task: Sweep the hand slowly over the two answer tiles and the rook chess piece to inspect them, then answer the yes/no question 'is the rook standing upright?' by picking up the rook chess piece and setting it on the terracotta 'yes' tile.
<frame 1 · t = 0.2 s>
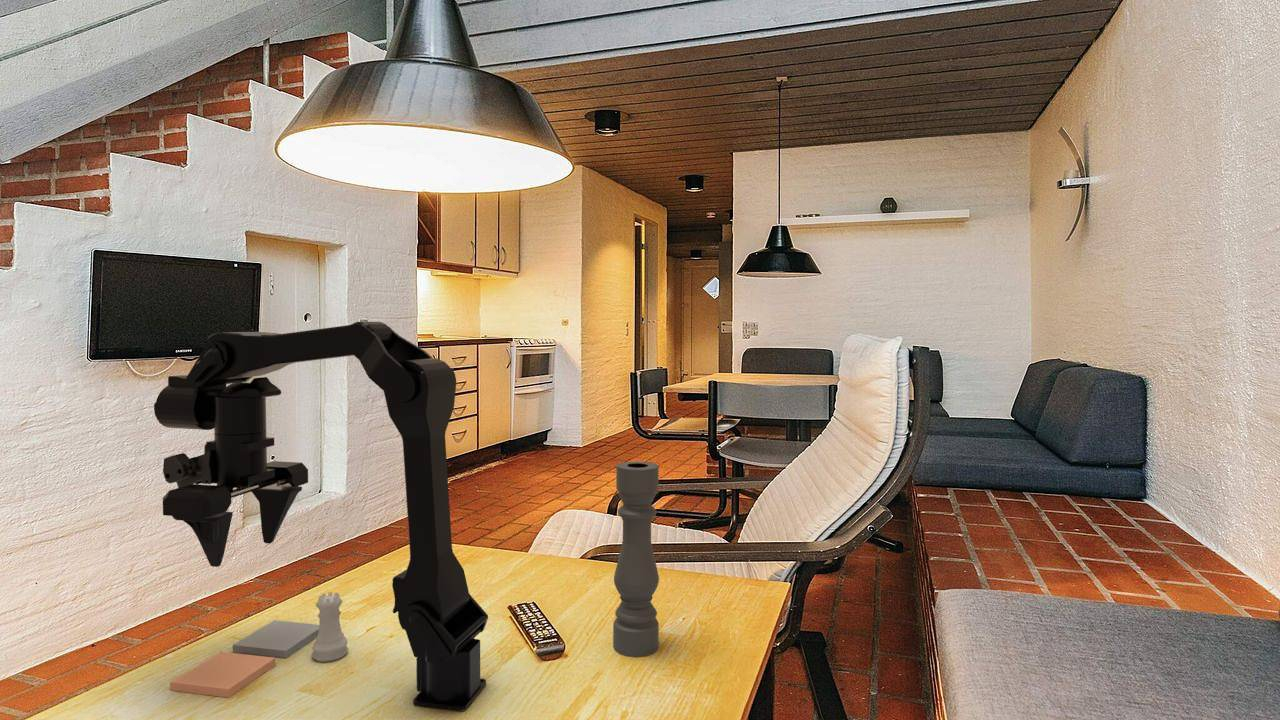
hand: (243, 554, 91), 14 cm above the table, fingers open, 9 cm apart
rook chess piece: (330, 656, 95), on the table
answer tiles: (253, 658, 93), on the table
candle holder: (635, 647, 98), on the table
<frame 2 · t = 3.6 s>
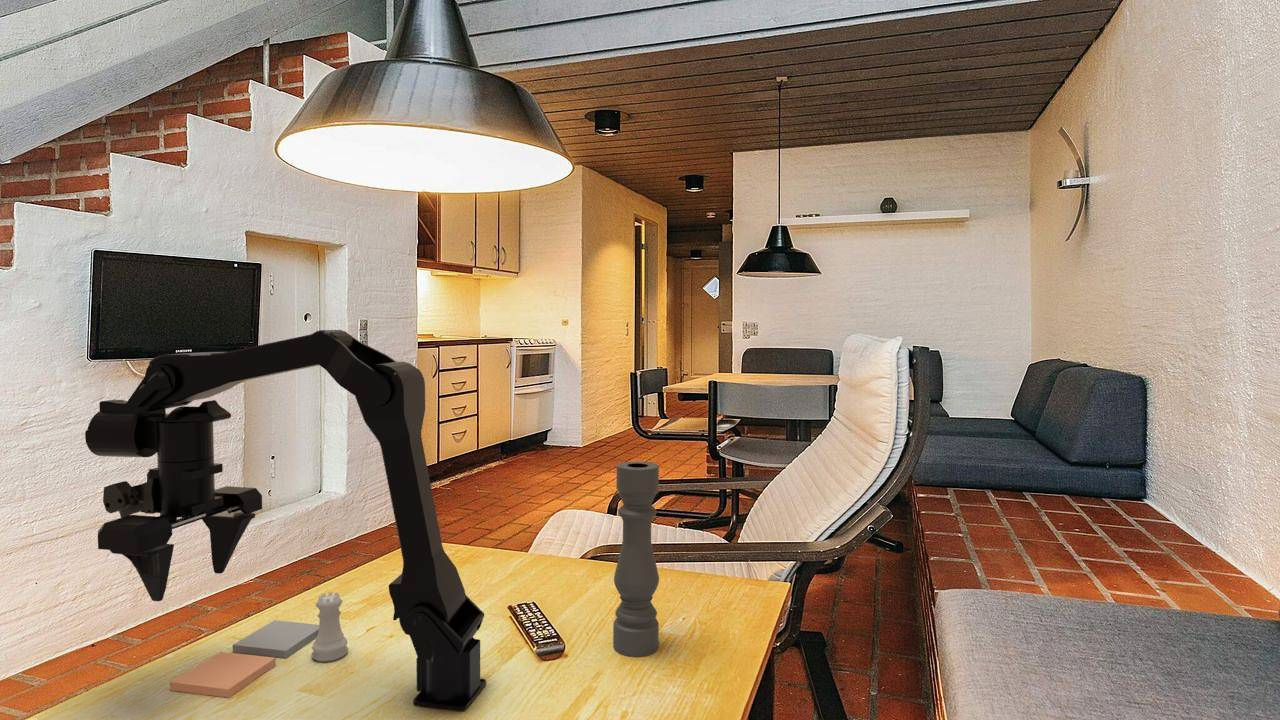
hand: (189, 586, 87), 12 cm above the table, fingers open, 9 cm apart
nothing on the table moved.
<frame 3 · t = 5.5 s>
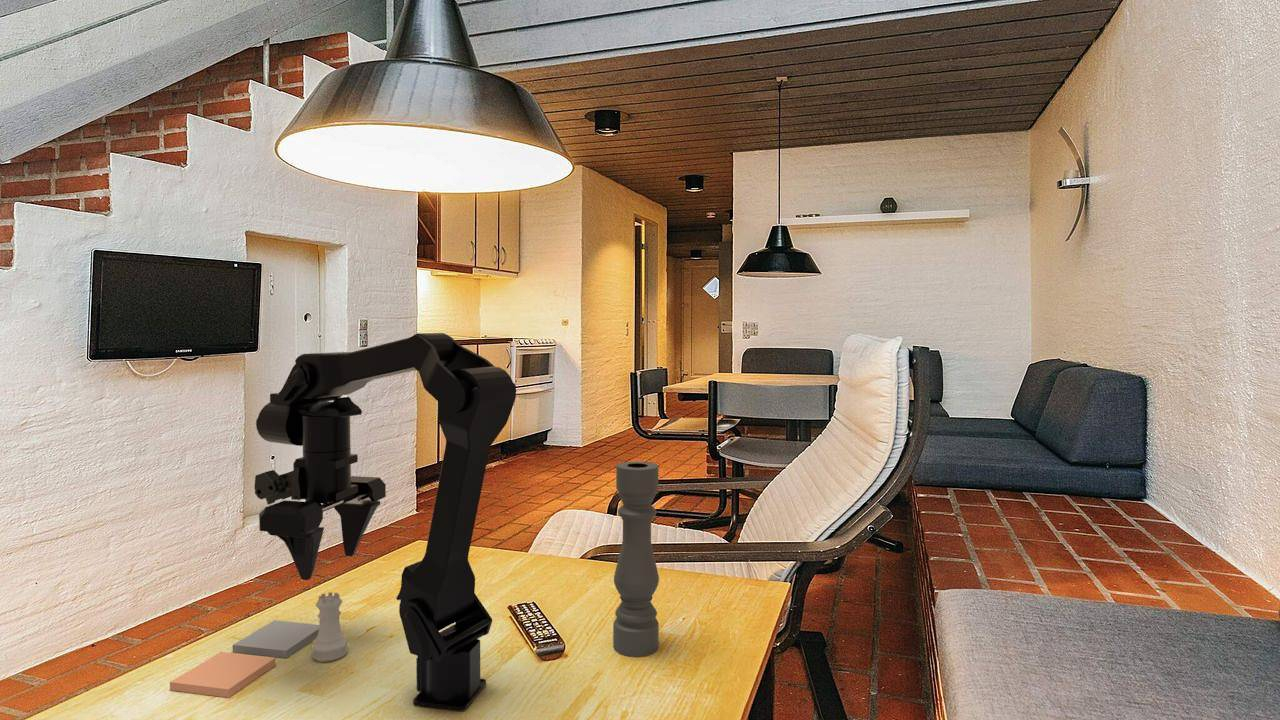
hand: (328, 567, 94), 12 cm above the table, fingers open, 9 cm apart
nothing on the table moved.
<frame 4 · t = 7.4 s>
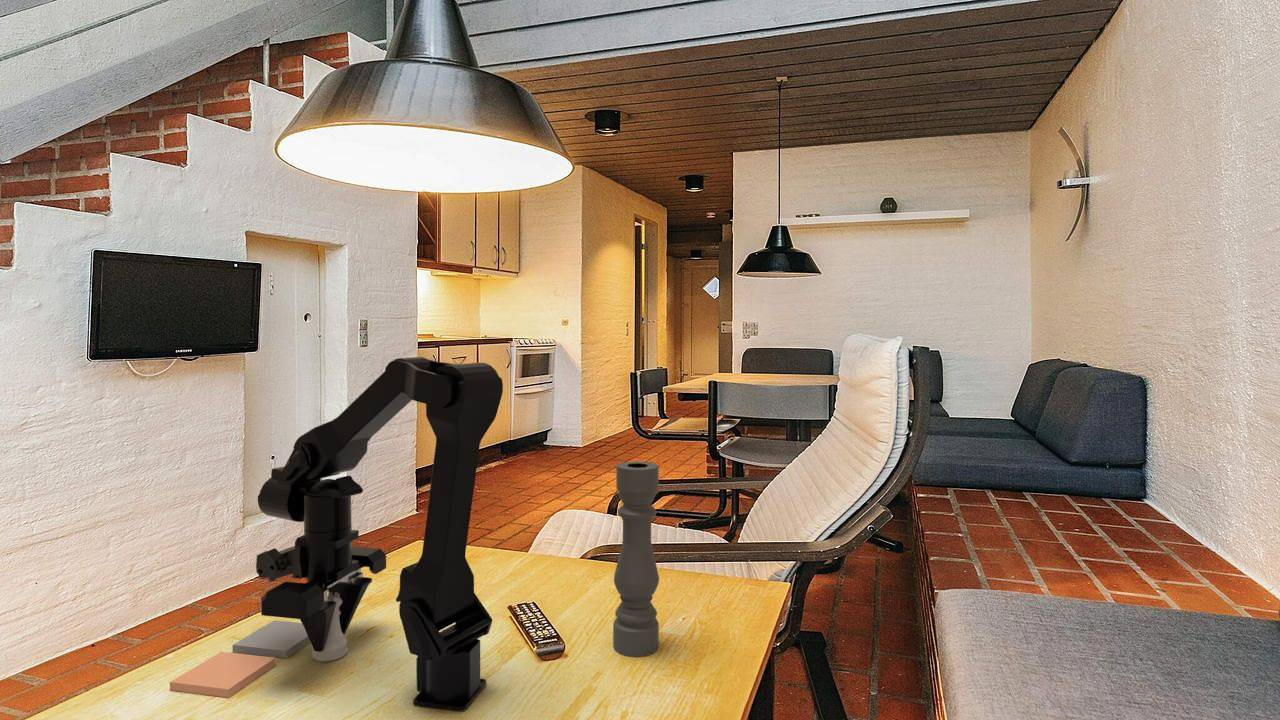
hand: (329, 643, 95), 2 cm above the table, fingers closed on rook chess piece, 4 cm apart
rook chess piece: (330, 656, 95), on the table, touching gripper
everything else where it was.
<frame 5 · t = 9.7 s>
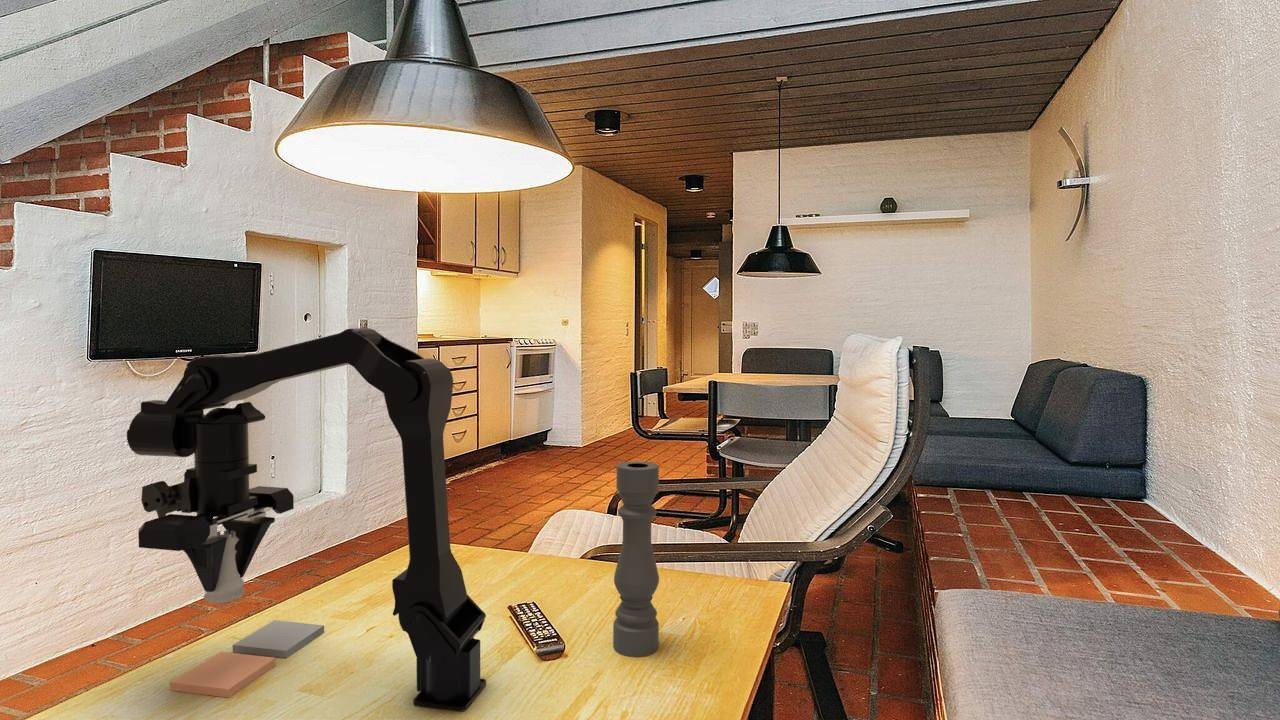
hand: (224, 584, 88), 12 cm above the table, fingers closed on rook chess piece, 4 cm apart
rook chess piece: (224, 598, 88), point 10 cm above the table, touching gripper
everything else where it was.
when the fingers open (4 cm above the table, at t = 11.8 s): rook chess piece drops 1 cm, resting on answer tiles.
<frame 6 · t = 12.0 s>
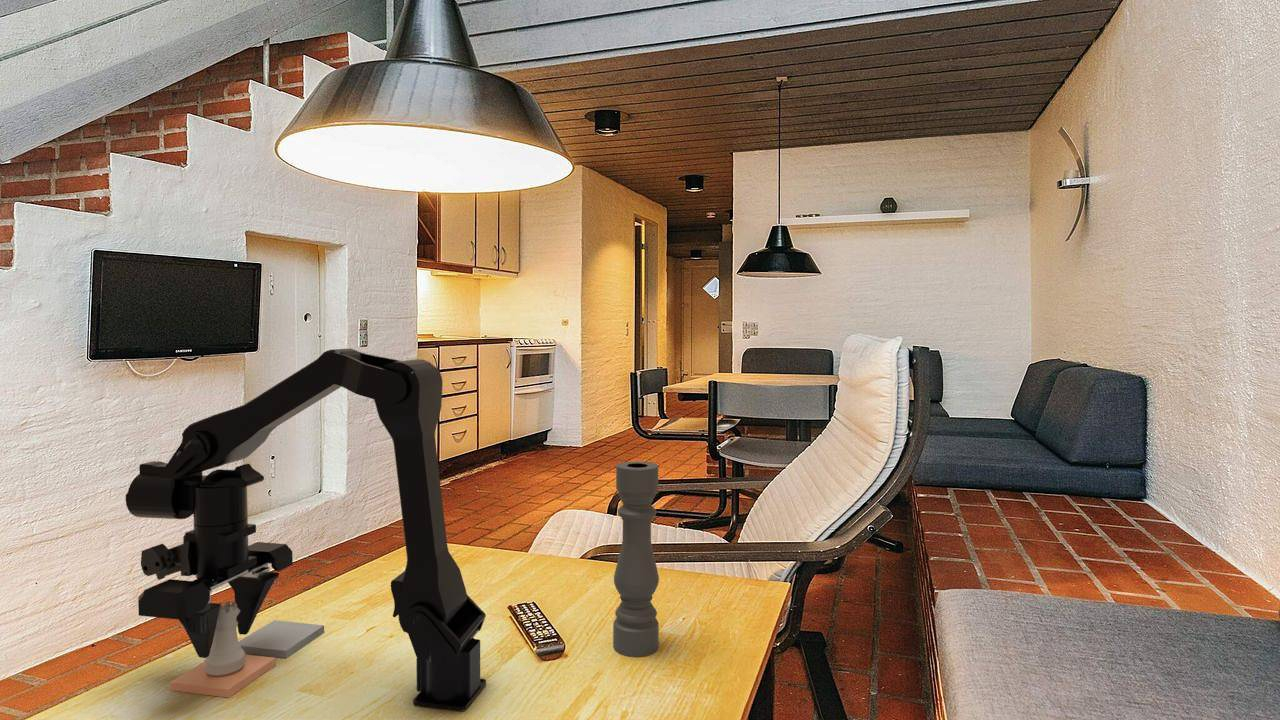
hand: (224, 645, 88), 4 cm above the table, fingers open, 6 cm apart
rook chess piece: (225, 670, 89), point 1 cm above the table, touching answer tiles
everything else where it was.
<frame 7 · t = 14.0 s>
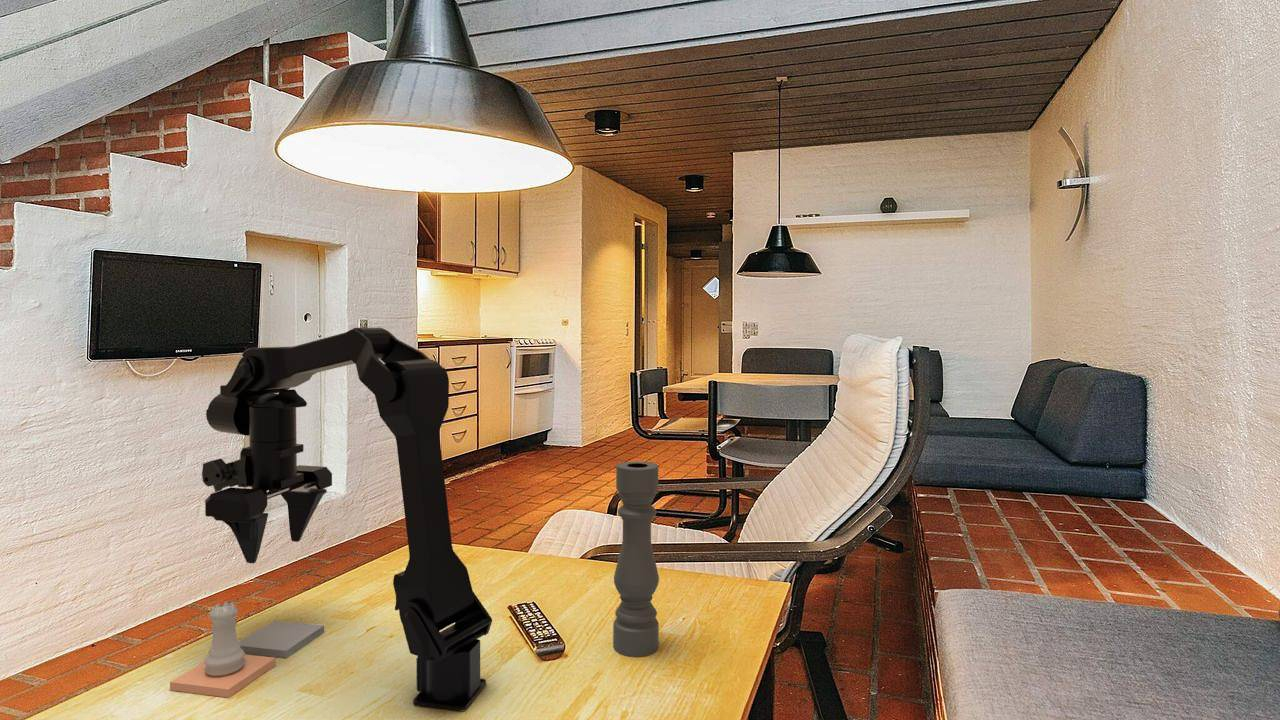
hand: (274, 551, 98), 12 cm above the table, fingers open, 9 cm apart
nothing on the table moved.
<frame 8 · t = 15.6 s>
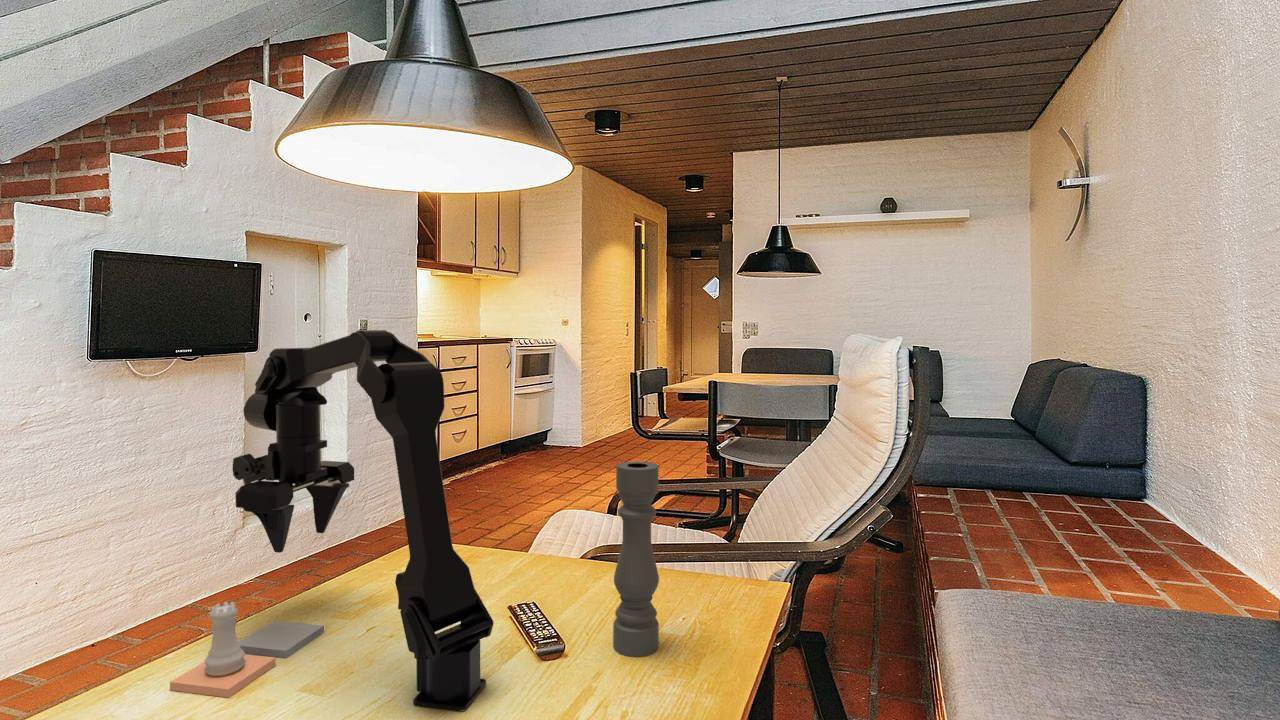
hand: (300, 542, 104), 12 cm above the table, fingers open, 9 cm apart
nothing on the table moved.
at the end: rook chess piece 0.1 cm from the target spot on the answer tiles, point 0.8 cm above the answer tiles's base; rook chess piece tilted 0°; the gripper is holding nothing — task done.
